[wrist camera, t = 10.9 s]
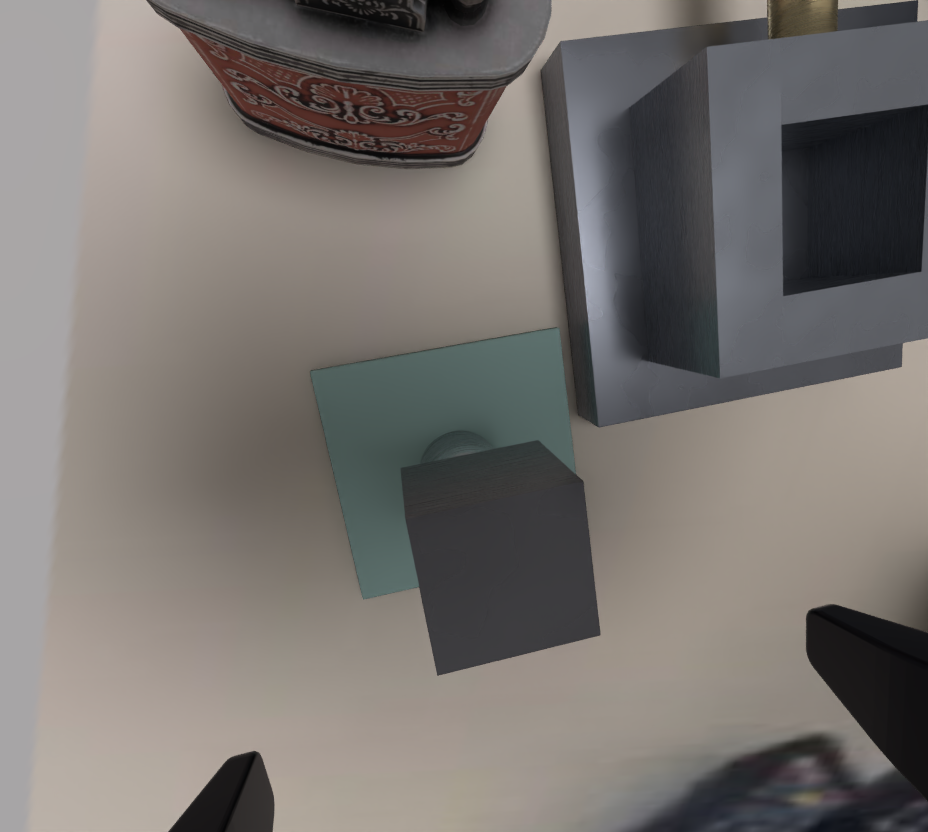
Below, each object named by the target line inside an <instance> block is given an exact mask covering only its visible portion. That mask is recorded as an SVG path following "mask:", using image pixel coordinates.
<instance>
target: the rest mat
mask: <svg viewBox="0 0 928 832" xmlns="http://www.w3.org/2000/svg"><path fill="white" fill-rule="evenodd" d="M310 374H311V378H312V383H313V387H314V391H315V396H316V400H317V404H318V408H319V413H320V417H321V421H322V426H323V430H324V434H325V438H326V443H327V447H328V451H329V456H330V460H331V464H332V468H333V473H334V477H335V481H336V486H337V490H338V494H339V499H340V503H341V507H342V511H343V516H344V520H345V524H346V529H347V533H348V537H349V541H350V546H351V550H352V554H353V559H354V563H355V567H356V571H357V576H358V580H359V584H360V589H361V593H362V597H363V599H368V598H372V597H377V596H381V595H385V594H390V593H394V592H399V591H403V590H408V589H412V588H417V587H419V583H418V578H417V573H416V569H415V564H414V559H413V554H412V549H411V544H410V539H409V535H408V530H407V525H406V520H405V510H404V500H403V490H402V480H401V469H400V468H402V467H407V466H412V465H417V464H420V462H421V458H422V456H423V454H424V452H425V450H426V448H427V447H428V446H429V445H430V444H431V443H432V442H433V441H434V440H435V439H437V438H438V437H440V436H441V435H443V434H446V433H449V432H452V431H469V432H473V433H476V434H478V435H480V436H482V437H483V438H484V439H486V440H487V441H488V442H489V443H490V444H491V446H492V447H493V448H494V449H496V448H501V447H506V446H511V445H516V444H521V443H525V442H530V441H535V440H539V441H540V442H541V443H542V444H543V445H544V446H545V447H546V448H547V449H549V450H550V451H551V452H552V453H553V454H554V455H555V456H556V457H557V458H558V459H559V460H561V461H562V462H563V463H564V464H565V465H566V466H567V467H568V468H569V469H570V470H571V471H573V472H574V473H575V474H576V471H575V462H574V453H573V444H572V435H571V427H570V418H569V409H568V400H567V391H566V383H565V374H564V365H563V356H562V347H561V339H560V330H559V328H557V327H555V328H549V329H543V330H538V331H532V332H526V333H521V334H515V335H509V336H504V337H498V338H492V339H487V340H481V341H475V342H470V343H464V344H458V345H453V346H447V347H441V348H436V349H430V350H424V351H419V352H413V353H407V354H402V355H396V356H390V357H385V358H379V359H373V360H368V361H362V362H356V363H351V364H345V365H339V366H334V367H328V368H322V369H317V370H311V371H310Z"/></svg>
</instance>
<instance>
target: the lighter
mask: <svg viewBox="0 0 928 832" xmlns="http://www.w3.org/2000/svg"><path fill="white" fill-rule="evenodd" d="M147 2H148V3H149V4H150V5H151V7H152V8H153V9H154V10H155V11H156V13H157V14H158V15H160V16H161V17H163V18H164V19H166V20H167V21H169V22H170V23H172V24H173V25H175V26H177V27H178V28H180V30H181V31H182V32H183V34H184V35H185V36H186V38H187V39H188V40H189V41H190V43H191V44H192V45H193V47H194V48H195V49H196V51H197V52H198V53H199V55H200V56H201V57H202V59H203V60H204V61H205V63H206V64H207V65H208V67H209V68H210V69H211V71H212V72H213V73H214V74H215V76H216V77H217V78H218V80H219V81H220V82H221V84H222V85H223V90H224V92H225V95H226V97H227V100H228V102H229V104H230V106H231V107H232V108H233V110H234V111H235V112H236V113H237V115H238V116H239V117H240V118H241V119H242V121H243V122H244V123H245V124H246V126H247V127H249V128H250V129H252V130H254V131H255V132H257V133H259V134H261V135H264V136H266V137H269V138H272V139H274V140H277V141H280V142H282V143H285V144H288V145H290V146H293V147H296V148H298V149H301V150H304V151H306V152H310V153H314V154H318V155H322V156H326V157H330V158H334V159H338V160H343V161H347V162H351V163H355V164H362V165H372V166H383V167H393V168H404V169H411V168H441V167H454V166H457V165H461V164H463V163H464V162H465V161H467V160H468V159H469V158H471V157H472V155H473V154H474V152H475V151H476V149H477V147H478V146H479V144H480V143H481V141H482V139H483V138H484V134H485V131H486V127H487V123H488V118H489V116H490V114H491V112H492V111H493V109H494V107H495V105H496V104H497V102H498V100H499V98H500V97H501V95H502V93H503V91H504V90H505V88H506V86H508V85H509V84H510V83H511V82H513V81H514V80H515V79H516V78H518V77H519V76H520V75H522V74H523V72H524V71H525V69H526V67H527V66H528V64H529V63H530V61H531V59H532V58H533V56H534V55H535V53H536V51H537V50H538V48H539V46H540V45H541V43H542V42H543V40H544V38H545V35H546V31H547V27H548V24H549V20H550V17H551V0H147Z"/></svg>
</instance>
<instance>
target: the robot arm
mask: <svg viewBox="0 0 928 832" xmlns="http://www.w3.org/2000/svg"><path fill="white" fill-rule="evenodd" d="M806 652H807V656H808V658H809V661H810V663H811V664H812V666H813V667H814V669H815V670H816V671H817V672H818V674H819V675H820V676H821V677H822V679H823V680H824V681H825V682H826V684H827V685H828V686H829V687H830V689H831V690H832V691H833V692H834V694H835V695H836V696H837V697H838V699H839V700H840V701H841V702H842V703H843V705H844V706H845V707H846V708H847V710H848V711H849V712H850V713H851V715H852V716H853V717H854V718H855V720H856V721H857V722H858V723H859V725H860V726H861V727H862V728H863V730H864V731H865V732H866V733H867V734H868V736H869V737H870V738H871V739H872V741H873V742H874V743H875V744H876V745H877V747H878V748H879V749H880V750H881V751H882V752H883V754H884V755H885V756H886V757H887V758H888V759H889V760H890V762H891V763H892V764H893V765H894V766H895V767H896V768H897V769H898V770H899V771H900V773H901V774H902V775H903V776H904V777H905V778H906V779H907V780H908V781H909V782H910V783H911V784H912V785H913V786H914V787H915V788H916V790H917V791H918V792H919V793H920V794H921V795H922V796H923V797H924V798H925V799H926V800H927V801H928V633H927V632H924V631H921V630H917V629H914V628H911V627H907V626H904V625H901V624H898V623H894V622H891V621H888V620H884V619H881V618H878V617H875V616H871V615H868V614H865V613H862V612H858V611H855V610H852V609H848V608H845V607H842V606H839V605H835V604H829V605H824V606H821V607H817V608H813V609H811V610H809V611H808V613H807V615H806ZM273 821H274V795H273V791H272V788H271V785H270V781H269V778H268V775H267V772H266V769H265V765H264V762H263V759H262V757H261V755H260V754H259V752H256V751H252V752H248V753H244V754H240V755H236V756H233V757H231V758H229V759H228V760H227V761H226V762H225V763H224V764H223V765H222V767H221V768H220V769H219V770H218V771H217V773H216V774H215V775H214V776H213V778H212V779H211V780H210V781H209V782H208V784H207V785H206V786H205V787H204V789H203V790H202V791H201V792H200V794H199V795H198V796H197V797H196V798H195V800H194V801H193V802H192V803H191V805H190V806H189V807H188V808H187V809H186V811H185V812H184V813H183V814H182V816H181V817H180V818H179V819H178V820H177V822H176V823H175V824H174V825H173V827H172V828H171V829H170V830H169V831H168V832H273Z"/></svg>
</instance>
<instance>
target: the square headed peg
mask: <svg viewBox="0 0 928 832" xmlns="http://www.w3.org/2000/svg"><path fill="white" fill-rule="evenodd" d="M400 469H401V480H402V490H403V500H404V510H405V520H406V525H407V530H408V535H409V539H410V544H411V549H412V554H413V559H414V564H415V569H416V573H417V578H418V583H419V588H420V593H421V598H422V603H423V608H424V612H425V617H426V622H427V627H428V632H429V637H430V642H431V647H432V651H433V656H434V661H435V666H436V671H437V676H438V675H442V674H446V673H450V672H454V671H458V670H462V669H466V668H470V667H474V666H478V665H482V664H486V663H490V662H495V661H499V660H503V659H507V658H511V657H515V656H519V655H523V654H527V653H531V652H535V651H539V650H543V649H547V648H551V647H555V646H559V645H563V644H567V643H571V642H575V641H579V640H583V639H587V638H591V637H595V636H599V635H600V626H599V617H598V609H597V600H596V591H595V582H594V573H593V564H592V555H591V547H590V538H589V529H588V520H587V511H586V502H585V493H584V485H583V481H582V480H581V479H580V478H579V477H578V476H577V475H576V474H575V473H574V472H573V471H571V470H570V469H569V468H568V467H567V466H566V465H565V464H564V463H563V462H562V461H561V460H559V459H558V458H557V457H556V456H555V455H554V454H553V453H552V452H551V451H550V450H549V449H547V448H546V447H545V446H544V445H543V444H542V443H541V442H540V441H539V440H535V441H530V442H525V443H521V444H516V445H511V446H506V447H501V448H496V449H494V448H493V447H492V446H491V444H490V443H489V442H488V441H487V440H486V439H484V438H483V437H482V436H480V435H478V434H476V433H473V432H469V431H452V432H449V433H446V434H443V435H441V436H440V437H438V438H437V439H435V440H434V441H433V442H432V443H431V444H430V445H429V446H428V447H427V448H426V450H425V452H424V454H423V456H422V458H421V462H420V464H417V465H412V466H407V467H402V468H400Z"/></svg>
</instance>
